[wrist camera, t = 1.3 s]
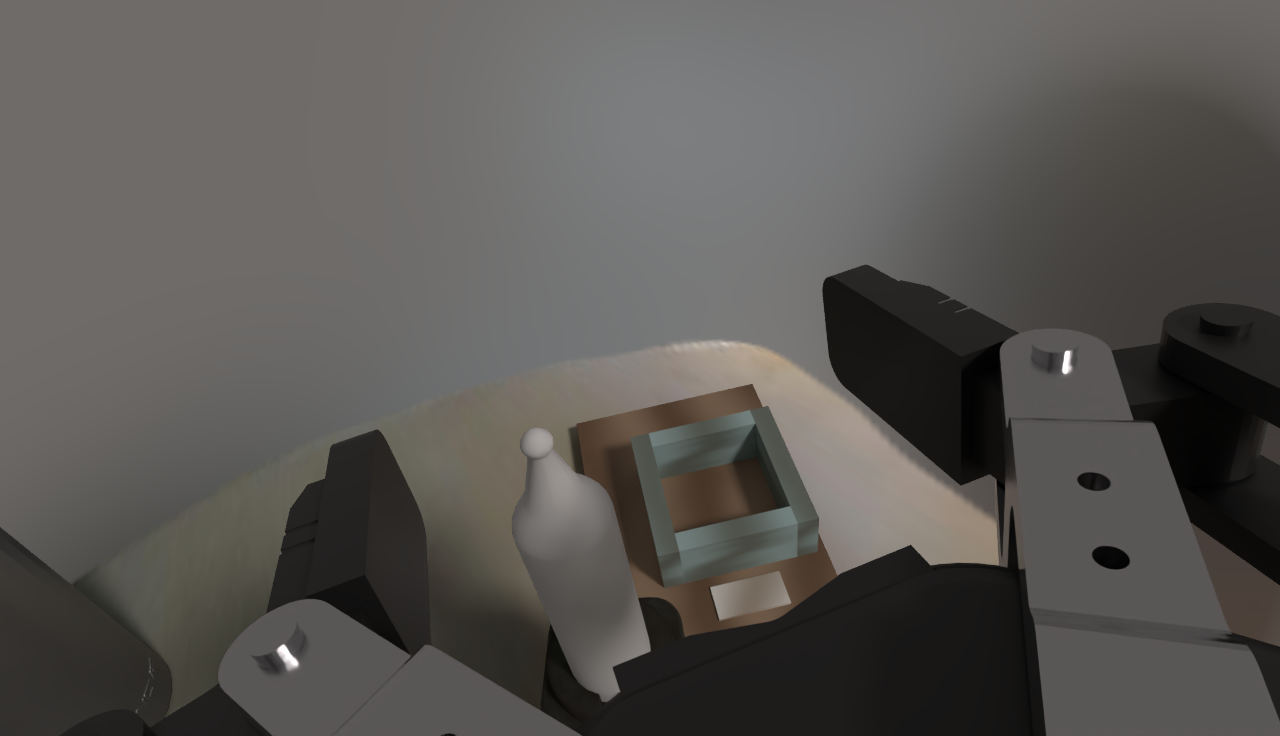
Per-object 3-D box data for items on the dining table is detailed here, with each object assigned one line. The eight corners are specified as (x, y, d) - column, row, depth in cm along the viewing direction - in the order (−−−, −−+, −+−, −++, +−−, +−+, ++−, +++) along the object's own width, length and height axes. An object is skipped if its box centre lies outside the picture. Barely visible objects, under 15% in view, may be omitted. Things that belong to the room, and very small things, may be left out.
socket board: (617, 671, 39) (603, 631, 36) (579, 435, 52) (567, 392, 50) (848, 615, 39) (853, 570, 37) (752, 395, 53) (750, 350, 50)
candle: (706, 728, 36) (635, 355, 20) (713, 846, 32) (632, 507, 16) (606, 732, 37) (454, 373, 20) (601, 849, 33) (409, 524, 16)
